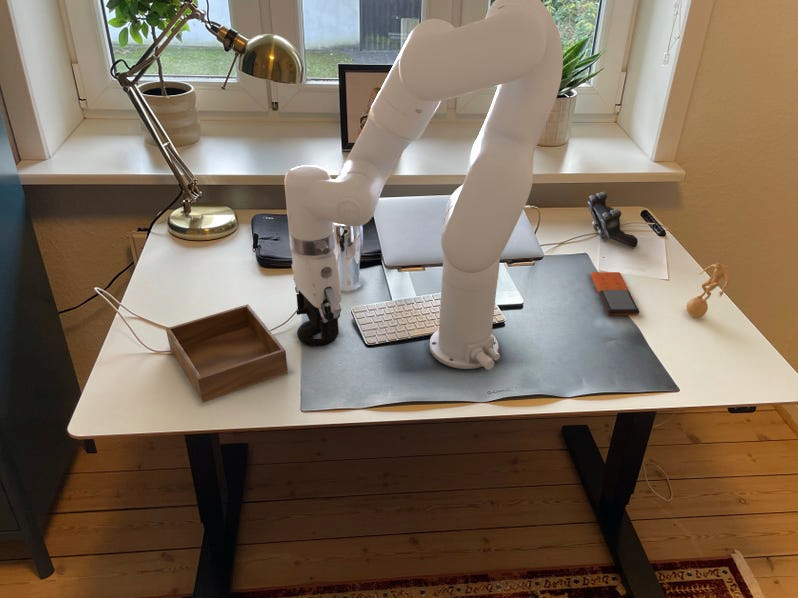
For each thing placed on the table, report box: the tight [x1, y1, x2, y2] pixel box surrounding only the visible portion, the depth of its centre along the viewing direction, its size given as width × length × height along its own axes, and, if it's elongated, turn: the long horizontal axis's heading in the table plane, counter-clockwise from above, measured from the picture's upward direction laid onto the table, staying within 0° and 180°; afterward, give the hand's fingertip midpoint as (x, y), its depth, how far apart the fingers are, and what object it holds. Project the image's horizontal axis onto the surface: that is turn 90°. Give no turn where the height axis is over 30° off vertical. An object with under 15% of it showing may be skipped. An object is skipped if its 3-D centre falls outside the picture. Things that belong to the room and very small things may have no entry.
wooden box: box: [165, 303, 289, 403], centre depth 129 cm, size 16×15×5 cm
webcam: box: [295, 296, 339, 347], centre depth 135 cm, size 8×8×10 cm
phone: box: [590, 271, 640, 316], centre depth 152 cm, size 6×1×15 cm
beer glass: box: [334, 222, 364, 293], centre depth 148 cm, size 7×7×15 cm
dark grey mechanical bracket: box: [586, 191, 639, 249], centre depth 172 cm, size 16×7×10 cm, turn 10°
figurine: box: [685, 262, 730, 318], centre depth 145 cm, size 8×6×12 cm
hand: (317, 323), depth 136 cm, fingers open, 9 cm apart
